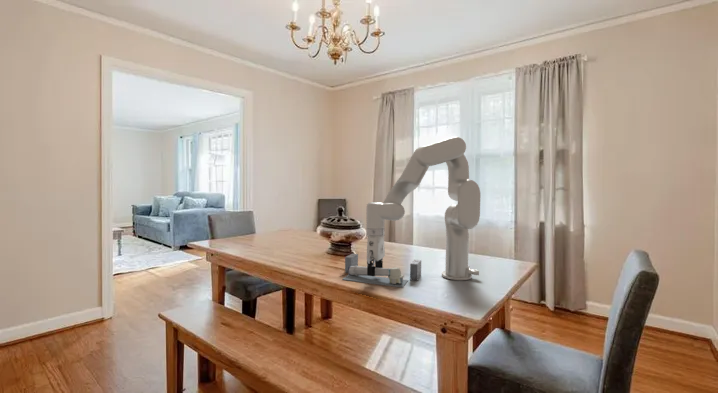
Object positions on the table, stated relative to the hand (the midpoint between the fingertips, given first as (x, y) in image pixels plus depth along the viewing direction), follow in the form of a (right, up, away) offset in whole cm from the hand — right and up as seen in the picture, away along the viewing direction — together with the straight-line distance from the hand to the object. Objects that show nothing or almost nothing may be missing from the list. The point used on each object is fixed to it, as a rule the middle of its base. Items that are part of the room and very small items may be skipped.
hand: (375, 272), depth 142 cm
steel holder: (+4, -3, +9) cm, 11 cm away
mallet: (0, -3, +1) cm, 3 cm away
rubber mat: (0, -3, 0) cm, 3 cm away
